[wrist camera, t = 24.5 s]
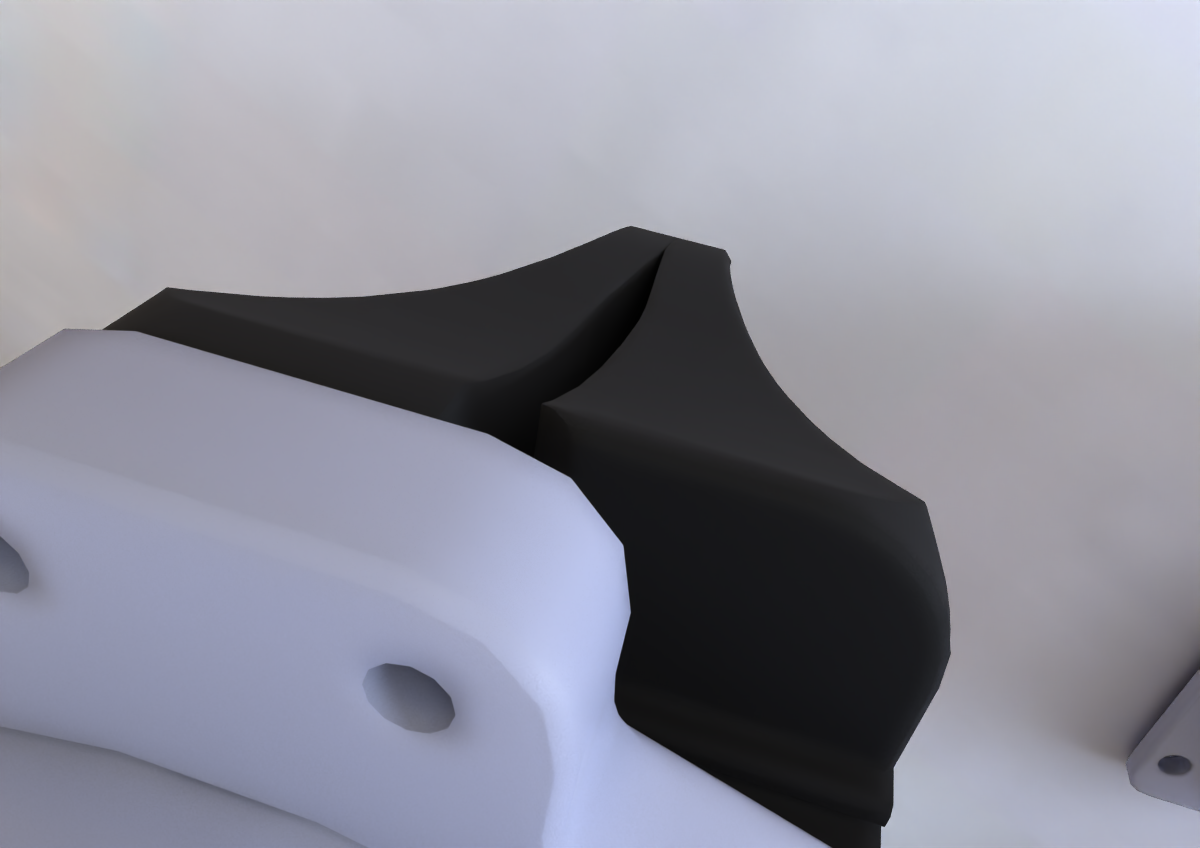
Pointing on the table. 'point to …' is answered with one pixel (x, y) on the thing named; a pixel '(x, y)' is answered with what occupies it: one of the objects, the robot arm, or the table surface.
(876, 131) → the table surface
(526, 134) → the table surface
